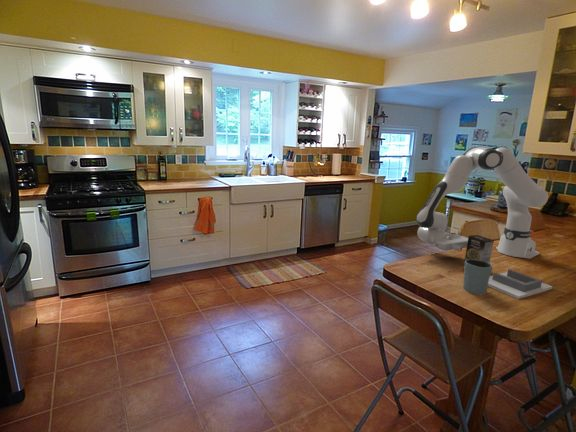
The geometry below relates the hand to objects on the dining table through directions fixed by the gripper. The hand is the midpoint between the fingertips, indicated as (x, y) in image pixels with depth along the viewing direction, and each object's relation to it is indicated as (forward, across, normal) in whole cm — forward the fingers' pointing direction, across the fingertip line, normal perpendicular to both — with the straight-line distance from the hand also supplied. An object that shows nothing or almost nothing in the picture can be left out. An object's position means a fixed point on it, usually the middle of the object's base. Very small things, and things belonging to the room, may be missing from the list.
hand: (467, 248), depth 170 cm
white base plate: (+25, -1, +9) cm, 26 cm away
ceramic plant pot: (+21, -22, +9) cm, 32 cm away
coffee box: (+6, 0, +9) cm, 11 cm away
